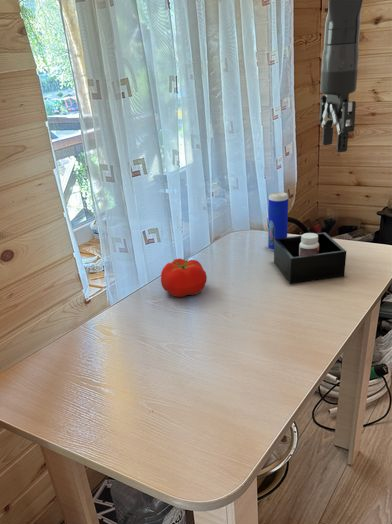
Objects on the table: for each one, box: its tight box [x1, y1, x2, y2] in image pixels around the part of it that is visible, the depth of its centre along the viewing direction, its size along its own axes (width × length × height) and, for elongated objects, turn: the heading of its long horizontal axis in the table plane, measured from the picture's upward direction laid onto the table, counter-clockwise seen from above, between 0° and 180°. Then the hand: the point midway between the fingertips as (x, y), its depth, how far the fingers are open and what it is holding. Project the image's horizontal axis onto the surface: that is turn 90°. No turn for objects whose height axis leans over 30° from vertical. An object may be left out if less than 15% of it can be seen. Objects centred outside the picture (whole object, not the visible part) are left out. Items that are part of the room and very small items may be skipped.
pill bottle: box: [299, 232, 319, 256], centre depth 127 cm, size 5×5×8 cm
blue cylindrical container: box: [267, 191, 289, 252], centre depth 139 cm, size 5×5×15 cm
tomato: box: [160, 258, 208, 298], centre depth 122 cm, size 11×11×8 cm
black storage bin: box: [273, 231, 347, 285], centre depth 128 cm, size 14×14×7 cm
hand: (334, 148), depth 118 cm, fingers open, 8 cm apart
